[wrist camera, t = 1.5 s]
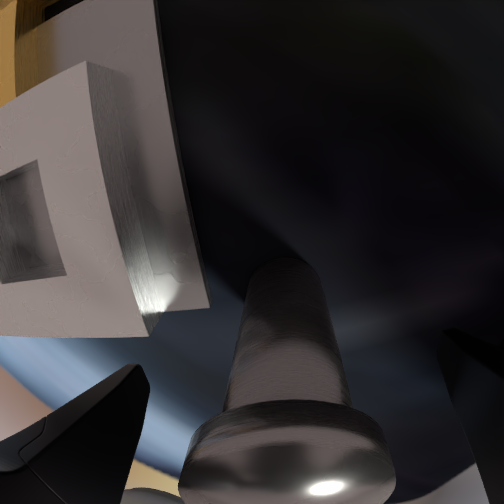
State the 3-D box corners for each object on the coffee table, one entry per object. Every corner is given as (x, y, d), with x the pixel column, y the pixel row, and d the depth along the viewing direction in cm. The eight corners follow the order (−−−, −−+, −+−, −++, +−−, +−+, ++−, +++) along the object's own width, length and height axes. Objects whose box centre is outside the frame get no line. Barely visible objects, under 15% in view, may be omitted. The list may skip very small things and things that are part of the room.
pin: (329, 238, 12) (414, 425, 4) (336, 327, 13) (380, 522, 5) (226, 252, 13) (144, 444, 4) (244, 338, 14) (210, 533, 5)
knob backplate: (150, -69, 8) (130, -95, 6) (212, 300, 13) (199, 333, 11) (-44, 51, 10) (-71, 50, 7) (2, 314, 15) (-23, 333, 13)
